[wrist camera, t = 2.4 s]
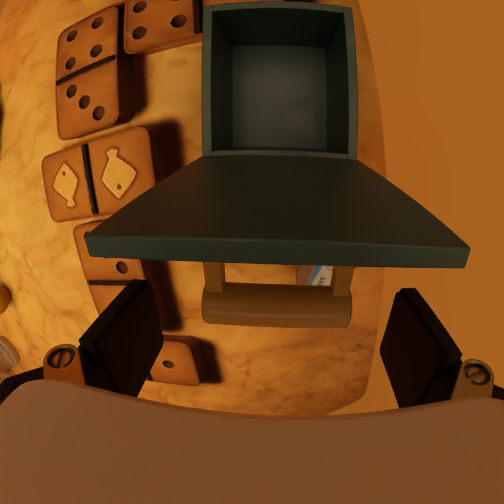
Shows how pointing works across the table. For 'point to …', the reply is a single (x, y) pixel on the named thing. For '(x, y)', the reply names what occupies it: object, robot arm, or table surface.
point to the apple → (4, 299)
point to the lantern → (7, 357)
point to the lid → (278, 233)
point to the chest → (279, 80)
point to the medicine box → (314, 275)
